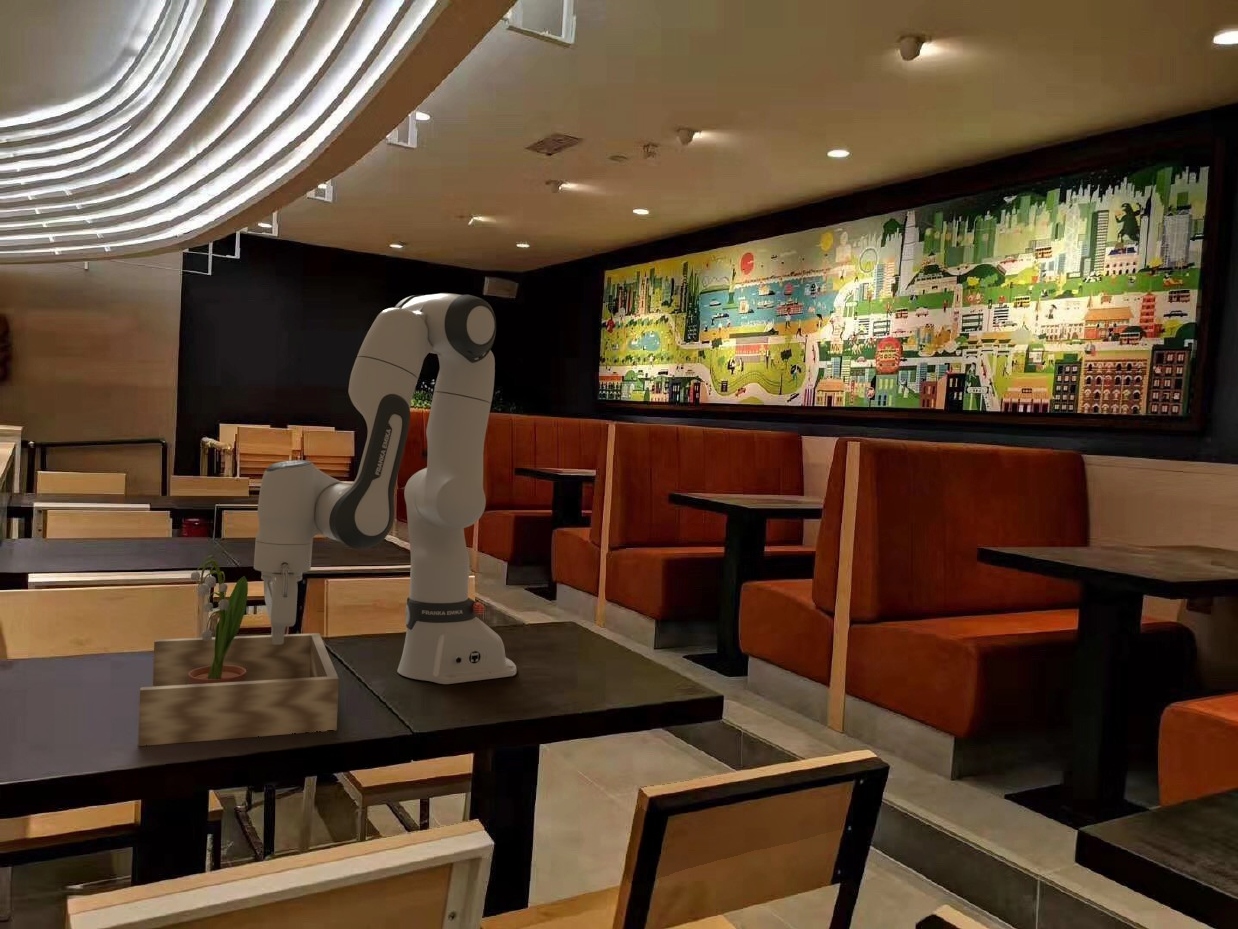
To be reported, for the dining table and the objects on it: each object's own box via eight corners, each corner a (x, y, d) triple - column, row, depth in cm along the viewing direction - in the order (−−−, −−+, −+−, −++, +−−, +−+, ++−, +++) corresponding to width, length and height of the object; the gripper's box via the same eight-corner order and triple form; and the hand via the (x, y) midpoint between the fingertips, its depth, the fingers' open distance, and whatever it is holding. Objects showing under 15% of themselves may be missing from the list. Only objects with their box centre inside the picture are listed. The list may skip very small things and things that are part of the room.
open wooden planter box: (317, 676, 169) (319, 633, 168) (336, 730, 140) (338, 678, 140) (153, 685, 158) (154, 639, 158) (138, 746, 130) (139, 690, 129)
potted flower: (217, 723, 141) (222, 561, 140) (159, 716, 143) (164, 556, 142) (262, 701, 152) (267, 552, 151) (208, 695, 154) (213, 547, 153)
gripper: (309, 569, 142) (302, 657, 142) (298, 550, 161) (292, 629, 161) (265, 568, 140) (259, 658, 140) (259, 549, 158) (254, 629, 159)
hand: (277, 642), depth 151 cm, fingers closed
